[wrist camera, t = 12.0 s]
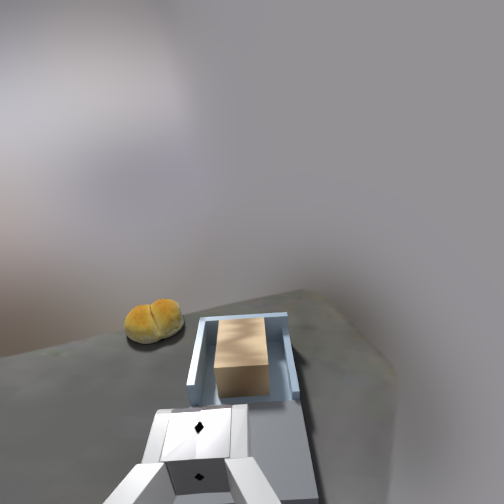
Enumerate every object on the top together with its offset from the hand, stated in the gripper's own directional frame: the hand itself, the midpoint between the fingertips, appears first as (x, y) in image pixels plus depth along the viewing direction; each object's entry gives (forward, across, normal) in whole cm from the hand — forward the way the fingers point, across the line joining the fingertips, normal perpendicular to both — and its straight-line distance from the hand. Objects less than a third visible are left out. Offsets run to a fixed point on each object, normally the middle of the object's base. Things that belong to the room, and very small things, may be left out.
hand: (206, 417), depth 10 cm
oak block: (+17, 0, -19) cm, 25 cm away
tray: (+21, 0, -22) cm, 30 cm away
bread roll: (+31, -14, -22) cm, 41 cm away
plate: (+10, 0, -22) cm, 24 cm away
